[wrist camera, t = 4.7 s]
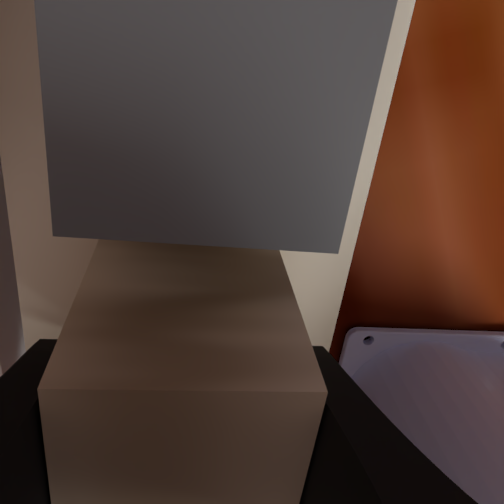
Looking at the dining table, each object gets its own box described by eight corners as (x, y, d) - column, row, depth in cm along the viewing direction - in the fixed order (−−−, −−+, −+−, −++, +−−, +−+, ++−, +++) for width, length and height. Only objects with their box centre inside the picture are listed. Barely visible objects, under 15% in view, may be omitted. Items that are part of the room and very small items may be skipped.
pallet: (410, -139, 10) (789, -395, 3) (277, 473, 18) (319, 711, 12) (-4, -220, 8) (-541, -824, 2) (64, 477, 17) (-10, 742, 11)
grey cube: (324, -41, 9) (414, -72, 5) (289, 169, 10) (338, 253, 7) (98, -77, 8) (23, -141, 4) (103, 152, 10) (53, 236, 6)
